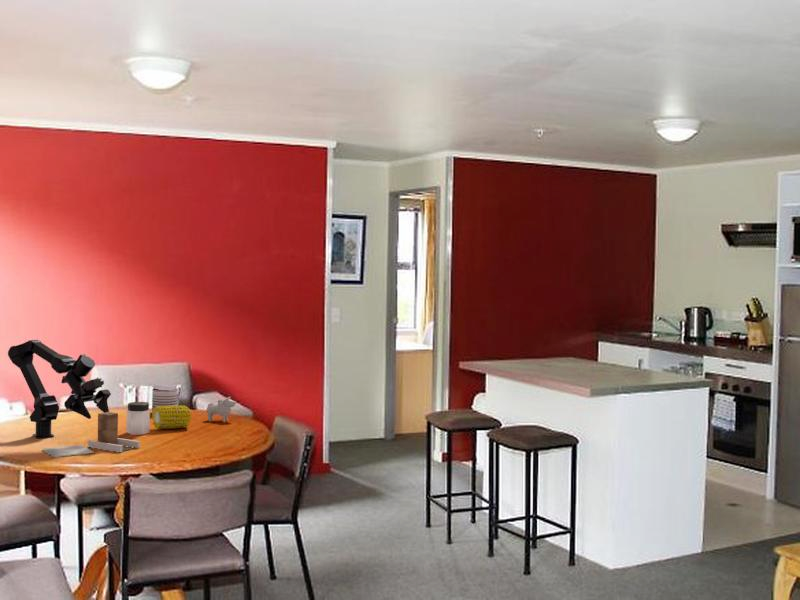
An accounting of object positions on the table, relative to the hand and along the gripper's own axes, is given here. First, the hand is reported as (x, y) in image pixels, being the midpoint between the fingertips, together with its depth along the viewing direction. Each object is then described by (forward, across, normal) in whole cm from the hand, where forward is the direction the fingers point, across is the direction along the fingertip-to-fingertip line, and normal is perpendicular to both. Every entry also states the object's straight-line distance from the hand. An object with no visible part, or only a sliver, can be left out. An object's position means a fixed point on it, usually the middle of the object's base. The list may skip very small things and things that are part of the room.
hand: (99, 416), depth 334 cm
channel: (+13, 0, +3) cm, 13 cm away
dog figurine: (+11, +67, +5) cm, 68 cm away
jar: (+4, +26, +11) cm, 29 cm away
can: (-12, +68, +27) cm, 74 cm away
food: (+8, +40, +8) cm, 42 cm away
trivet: (+7, -14, +8) cm, 18 cm away
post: (+11, 0, +5) cm, 12 cm away
